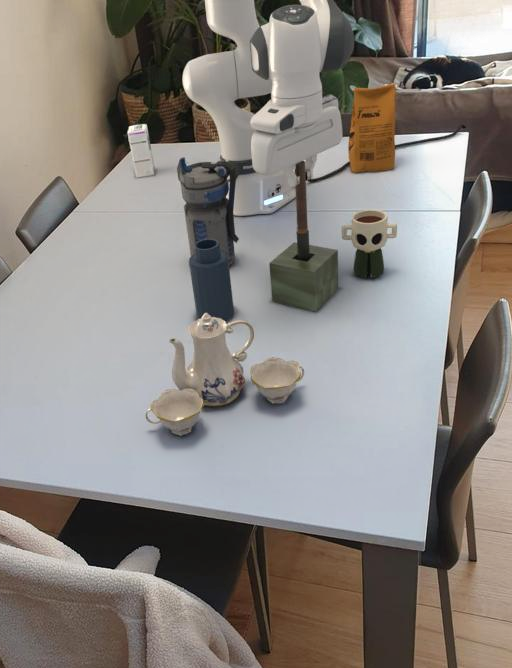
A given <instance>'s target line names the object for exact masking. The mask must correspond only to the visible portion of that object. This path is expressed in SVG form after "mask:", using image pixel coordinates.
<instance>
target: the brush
mask: <svg viewBox="0 0 512 668" xmlns="http://www.w3.org/2000/svg"><path fill="white" fill-rule="evenodd" d="M295 167H296V169H294V170H293V171H294V173H295V174H296V175H299V176H300V180H299V181H300V184H299V185H297V186H295V191H296V197H295V209H296V210H295V211H296V212H295V213H296V226H297V227H296V231H295V232H296V243H297V255H298V260H301V261H306V262H307V261H308V260H310V250H309V245H310V231H309V225H308V202H307V201H308V199H307V198H308V197H307V181H306V172H305V160H303V161H301V162H299V163H297V164H295Z"/></svg>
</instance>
